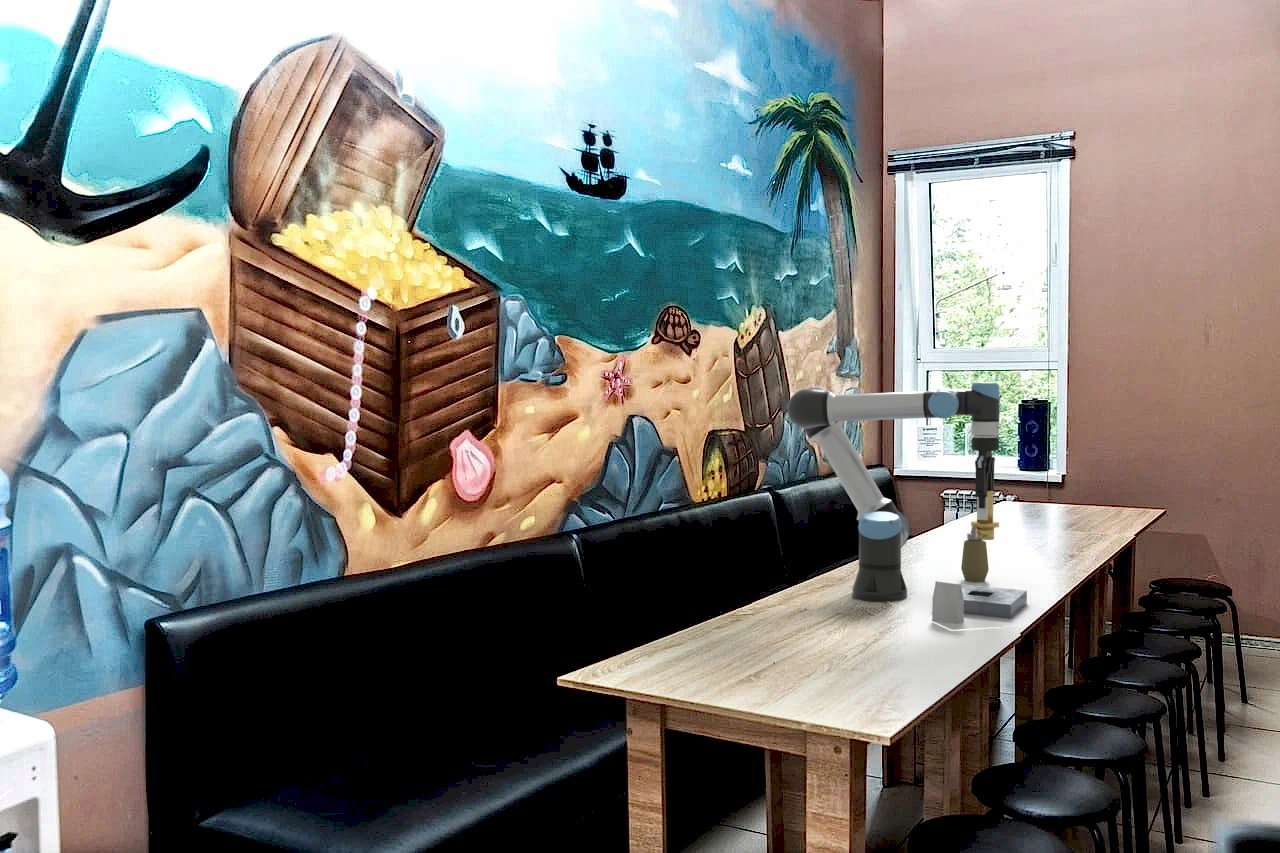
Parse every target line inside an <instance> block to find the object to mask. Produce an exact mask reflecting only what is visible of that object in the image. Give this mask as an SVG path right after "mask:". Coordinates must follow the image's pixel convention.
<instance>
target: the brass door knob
mask: <svg viewBox="0 0 1280 853" xmlns="http://www.w3.org/2000/svg"><path fill="white" fill-rule="evenodd" d="M987 497H988V520H977V519H976V520H972V521H971V522H970V526H971V527H972V526H973V527H976V539H980V540H983V541H993V540H995V528H1000V523H999V522H998V521H994V495H993V491H991V490H987ZM977 509H978V497H976V510H977Z"/></svg>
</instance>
